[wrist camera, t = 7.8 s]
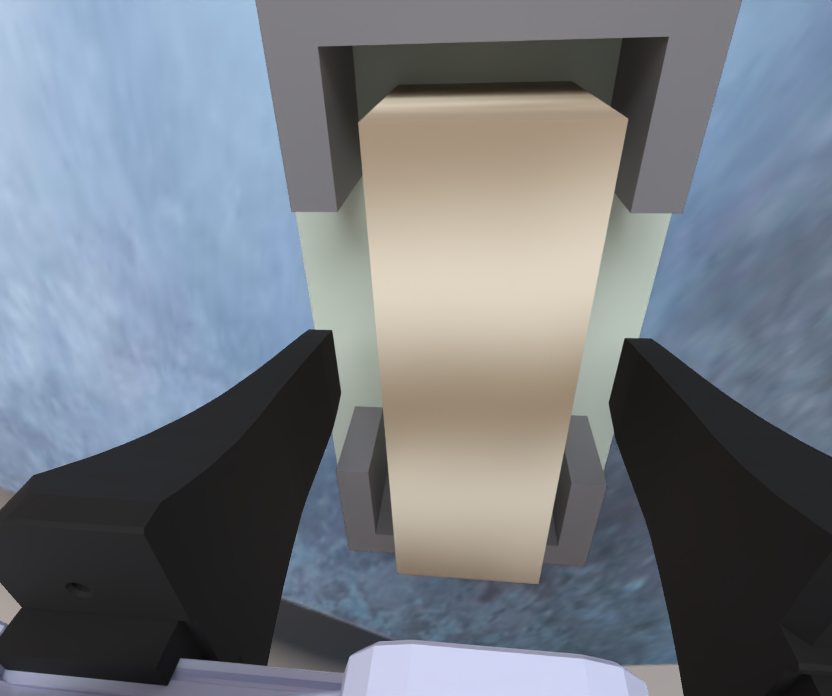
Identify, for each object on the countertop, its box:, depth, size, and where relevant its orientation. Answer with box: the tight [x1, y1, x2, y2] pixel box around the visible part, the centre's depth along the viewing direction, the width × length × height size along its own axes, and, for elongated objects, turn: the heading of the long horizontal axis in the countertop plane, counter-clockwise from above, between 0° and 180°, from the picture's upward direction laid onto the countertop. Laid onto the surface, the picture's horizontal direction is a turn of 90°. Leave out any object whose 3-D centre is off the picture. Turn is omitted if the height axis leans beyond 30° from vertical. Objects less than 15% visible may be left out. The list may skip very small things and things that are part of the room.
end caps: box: [255, 0, 742, 566], centre depth 14 cm, size 18×10×4 cm, turn 2°
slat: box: [358, 81, 628, 584], centre depth 13 cm, size 12×4×5 cm, turn 2°
